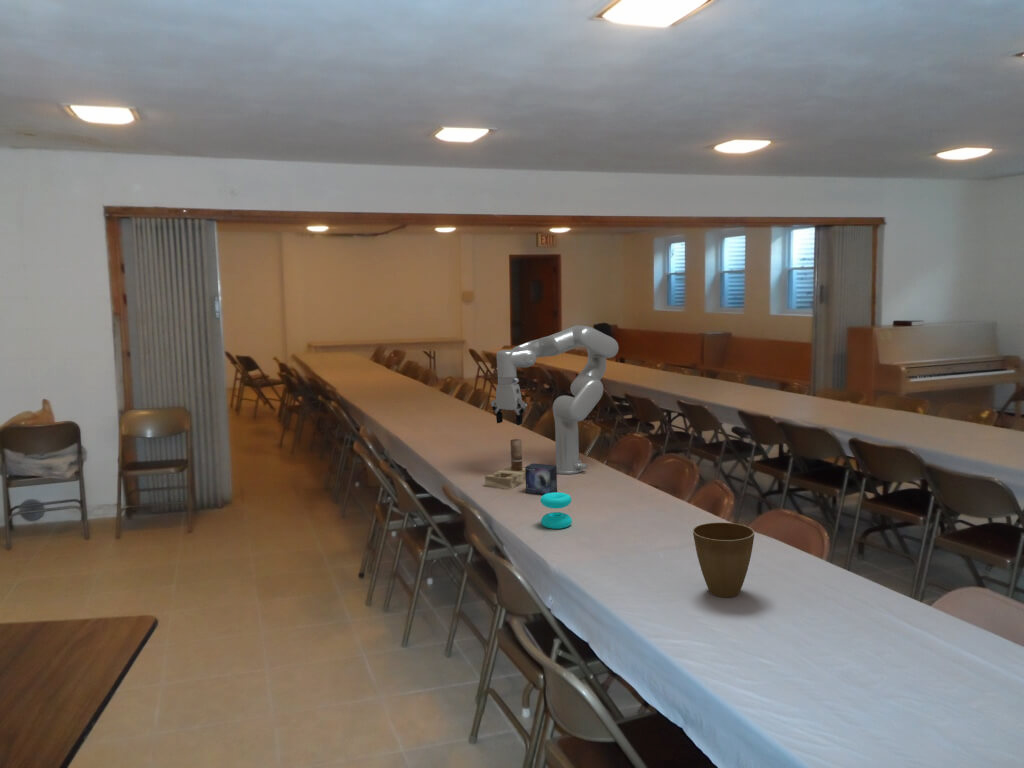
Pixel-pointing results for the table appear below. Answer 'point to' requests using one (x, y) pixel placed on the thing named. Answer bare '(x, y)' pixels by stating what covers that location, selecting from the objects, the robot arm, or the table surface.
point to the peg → (516, 455)
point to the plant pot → (724, 555)
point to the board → (506, 478)
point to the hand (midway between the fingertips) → (509, 423)
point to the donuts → (556, 518)
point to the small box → (541, 479)
